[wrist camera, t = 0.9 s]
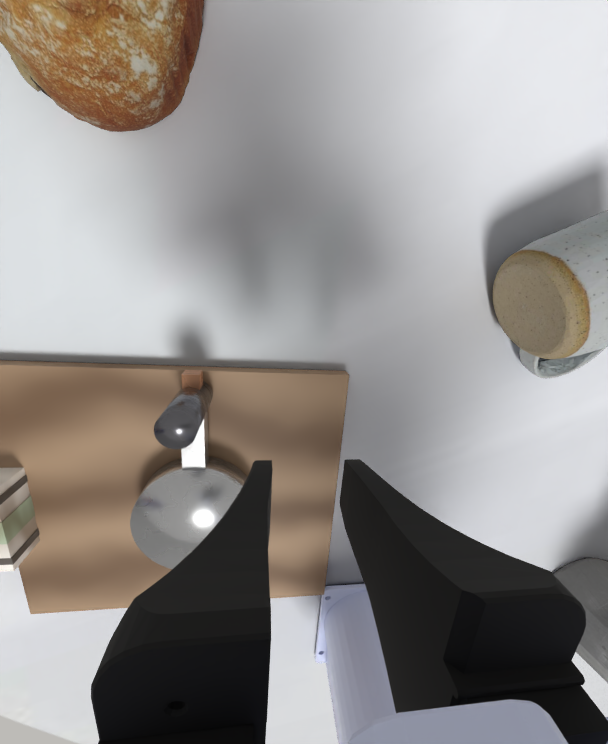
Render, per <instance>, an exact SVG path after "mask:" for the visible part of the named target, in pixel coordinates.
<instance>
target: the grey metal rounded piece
mask: <svg viewBox="0 0 608 744" xmlns="http://www.w3.org/2000/svg"><path fill="white" fill-rule="evenodd" d="M181 376H182V388H181V389H180V391H179V392H178V393H177V395H176V396H175V397H174V399H173V400H172V401H171V402H170V404H169V405H168V406H167V408H166V409H165V410H164V412H163V413H162V414H161V416H160V417H159V418H158V420H157V421H156V423H155V425H154V435H155V437H156V439H157V441H158V442H159V443H160V444H162V445H163V446H165V447H167V448H170V449H181V452H182V458H180V459H177V460H174V461H172V462H170V463H168V464H166V465H164V466H163V467H161V468H160V469H159V470H157V471H156V472H155V473H154V474H153V475H152V477H151V478H150V479H149V481H148V482H147V484H146V486H145V487H144V489H143V491H142V493H141V494H140V496H139V498H138V500H137V501H136V503H135V505H134V507H133V510H132V513H131V519H130V528H131V533H132V536H133V539H134V541H135V543H136V545H137V546H138V548H139V549H140V550H141V551H142V552H143V553H144V554H145V555H146V556H147V557H148V558H150V559H151V560H152V561H154V562H156V563H157V564H159V565H162V566H164V567H166V568H170V569H173V568H174V567H175V566H176V565H178V564H179V563H180V562H181V561H182V560H183V559H184V558H185V557H186V556H187V555H189V554H190V553H191V552H192V551H193V550H194V549H195V548H196V547H197V546H198V545H199V544H200V543H201V542H202V540H203V539H204V538H205V537H206V536H207V535H208V534H209V533H210V532H211V531H212V529H213V528H214V527H215V526H216V525H217V523H218V522H219V521H220V520H221V518H222V517H223V516H224V514H225V513H226V512H227V510H228V509H229V507H230V506H231V504H232V503H233V501H234V500H235V498H236V497H237V495H238V494H239V492H240V490H241V488H242V487H243V485H244V483H245V481H246V479H247V476H246V474H245V473H244V472H243V471H241V470H240V469H239V468H238V467H236V466H235V465H233V464H231V463H229V462H227V461H225V460H222V459H219V458H215V457H210V456H208V417H207V410H208V408H209V405H210V403H211V401H212V398H213V392H212V389H211V387H210V386H209V385H208V384H207V383H206V382H204V381H203V370H185V371H184V372H183V373H182V374H181Z"/></svg>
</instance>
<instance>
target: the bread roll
mask: <svg viewBox="0 0 608 744" xmlns="http://www.w3.org/2000/svg"><path fill="white" fill-rule="evenodd" d="M203 7H204V0H0V42H1V43H2V44H3V45H4V47H5V48H6V49H7V51H8V52H9V54H10V55H11V59H12V60H13V62H14V63H15V65H16V67H17V69H18V70H19V72H20V74H21V75H22V76H23V78H24V79H25V80H26V81H27V83H29V84H30V85H31V86H32V87H33V88H34V89H36V90H37V91H40V90H42V91H43V92H44V93H45V94H46V95H48V96H49V97H50V98H51V99H53V100H54V101H55V103H56V104H57V105H58V106H59V107H61V108H62V109H64V110H65V111H67V112H69V113H70V114H72V115H73V116H74V117H76V118H77V119H79V120H82V121H86V122H88V123H90V124H92V125H94V126H96V127H99V128H101V129H105V130H108V131H117V132H122V131H134V130H140V129H143V128H146V127H149V126H152V125H153V124H155V123H157V122H159V121H160V120H162V119H164V118H165V117H167V116H168V115H170V114H171V113H172V112H173V111H174V110H175V109H176V107H177V106H178V105H179V103H180V102H181V100H182V97H183V96H184V92H185V88H186V86H187V84H188V82H189V74H190V72H191V70H192V68H193V65H194V61H195V56H196V53H197V49H198V46H199V40H200V35H201V30H202V14H203Z"/></svg>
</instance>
